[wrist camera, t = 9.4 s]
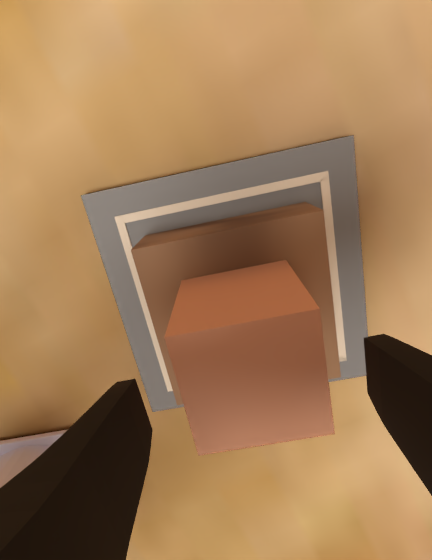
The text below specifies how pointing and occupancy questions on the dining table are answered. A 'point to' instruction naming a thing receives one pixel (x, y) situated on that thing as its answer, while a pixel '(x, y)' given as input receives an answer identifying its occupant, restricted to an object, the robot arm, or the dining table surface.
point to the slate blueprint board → (224, 204)
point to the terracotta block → (249, 358)
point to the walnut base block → (238, 264)
